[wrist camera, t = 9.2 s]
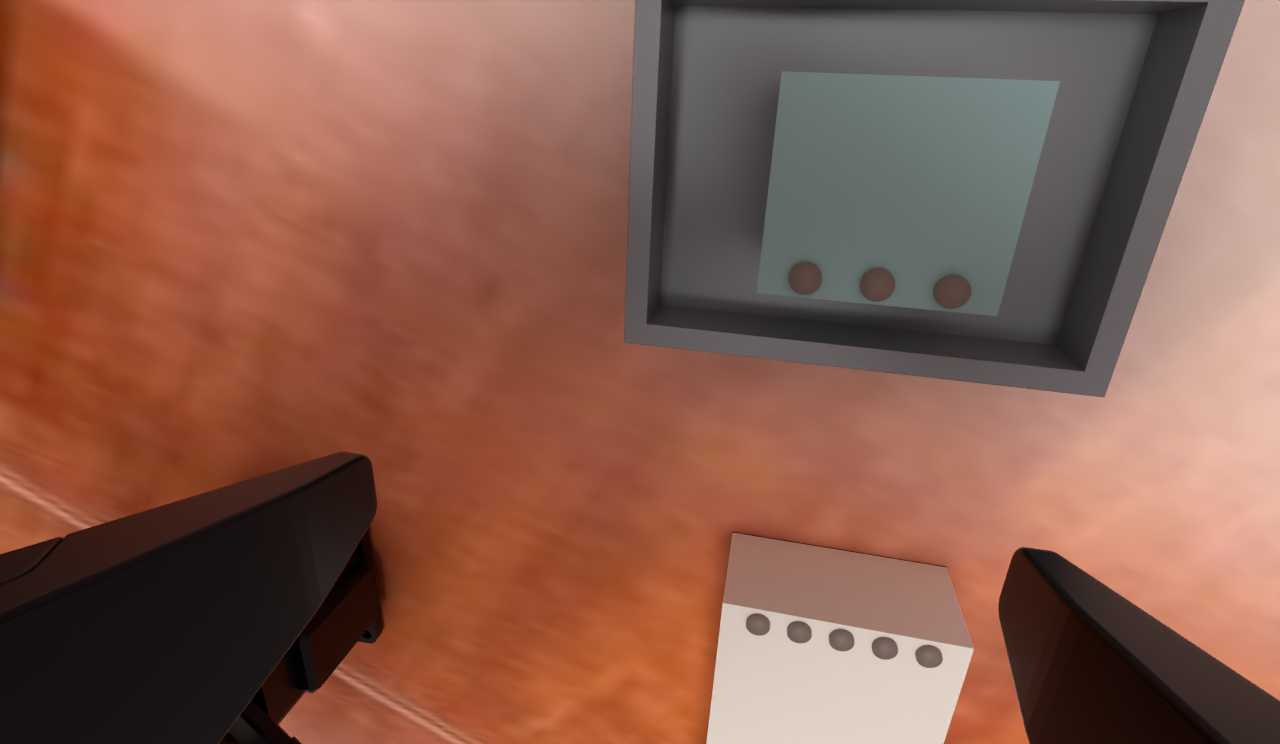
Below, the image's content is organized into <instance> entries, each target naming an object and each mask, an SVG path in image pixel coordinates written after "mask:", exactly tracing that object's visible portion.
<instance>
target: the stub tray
mask: <svg viewBox="0 0 1280 744" xmlns="http://www.w3.org/2000/svg"><path fill="white" fill-rule="evenodd" d="M1244 1H1245V0H635V29H634V59H633V89H632V119H631V149H630V179H629V209H628V240H627V270H626V300H625V330H624V342H625V343H633V344H642V345H651V346H660V347H668V348H677V349H686V350H695V351H703V352H712V353H721V354H730V355H738V356H747V357H756V358H765V359H773V360H782V361H791V362H800V363H808V364H817V365H826V366H835V367H843V368H852V369H861V370H870V371H878V372H887V373H896V374H905V375H913V376H922V377H931V378H940V379H948V380H957V381H966V382H975V383H983V384H992V385H1001V386H1009V387H1018V388H1027V389H1036V390H1044V391H1053V392H1062V393H1071V394H1079V395H1088V396H1097V397H1104V396H1105V394H1106V391H1107V388H1108V385H1109V382H1110V379H1111V377H1112V374H1113V371H1114V368H1115V365H1116V363H1117V360H1118V357H1119V354H1120V351H1121V348H1122V346H1123V343H1124V340H1125V337H1126V334H1127V331H1128V329H1129V326H1130V323H1131V320H1132V317H1133V315H1134V312H1135V309H1136V306H1137V303H1138V300H1139V298H1140V295H1141V292H1142V289H1143V286H1144V283H1145V281H1146V278H1147V275H1148V272H1149V269H1150V267H1151V264H1152V261H1153V258H1154V255H1155V252H1156V250H1157V247H1158V244H1159V241H1160V238H1161V236H1162V233H1163V230H1164V227H1165V224H1166V221H1167V219H1168V216H1169V213H1170V210H1171V207H1172V204H1173V202H1174V199H1175V196H1176V193H1177V190H1178V188H1179V185H1180V182H1181V179H1182V176H1183V173H1184V171H1185V168H1186V165H1187V162H1188V159H1189V156H1190V154H1191V151H1192V148H1193V145H1194V142H1195V140H1196V137H1197V134H1198V131H1199V128H1200V125H1201V123H1202V120H1203V117H1204V114H1205V111H1206V108H1207V106H1208V103H1209V100H1210V97H1211V94H1212V92H1213V89H1214V86H1215V83H1216V80H1217V77H1218V75H1219V72H1220V69H1221V66H1222V63H1223V60H1224V58H1225V55H1226V52H1227V49H1228V46H1229V44H1230V41H1231V38H1232V35H1233V32H1234V29H1235V27H1236V24H1237V21H1238V18H1239V15H1240V12H1241V10H1242V7H1243V4H1244ZM782 71H787V72H815V73H844V74H872V75H900V76H929V77H957V78H986V79H1014V80H1043V81H1060V84H1059V88H1058V91H1057V95H1056V99H1055V103H1054V106H1053V110H1052V114H1051V118H1050V121H1049V125H1048V129H1047V133H1046V136H1045V140H1044V144H1043V147H1042V151H1041V155H1040V159H1039V162H1038V166H1037V170H1036V174H1035V177H1034V181H1033V185H1032V189H1031V192H1030V196H1029V200H1028V204H1027V207H1026V211H1025V215H1024V218H1023V222H1022V226H1021V230H1020V233H1019V237H1018V241H1017V245H1016V248H1015V252H1014V256H1013V260H1012V263H1011V267H1010V271H1009V274H1008V278H1007V282H1006V286H1005V289H1004V293H1003V297H1002V301H1001V304H1000V308H999V312H998V316H989V315H979V314H969V313H958V312H948V311H937V310H927V309H916V308H906V307H896V306H885V305H875V304H864V303H854V302H844V301H833V300H823V299H812V298H802V297H791V296H781V295H771V294H760V293H757V285H758V276H759V267H760V258H761V250H762V241H763V232H764V223H765V214H766V206H767V197H768V188H769V179H770V170H771V162H772V153H773V144H774V135H775V127H776V118H777V109H778V100H779V91H780V83H781V74H782Z"/></svg>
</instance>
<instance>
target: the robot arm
mask: <svg viewBox="0 0 1280 744" xmlns="http://www.w3.org/2000/svg"><path fill="white" fill-rule="evenodd" d="M376 509H377V498H376V491H375V483H374V476H373V468H372V463H371V461H370V459H369V458H368V457H367V456H366V455H362V454H355V453H348V452H339V453H335V454H332V455H328V456H325V457H322V458H319V459H315V460H312V461H309V462H305V463H302V464H299V465H295V466H292V467H289V468H285V469H282V470H279V471H276V472H272V473H269V474H266V475H262V476H259V477H256V478H252V479H249V480H246V481H243V482H239V483H236V484H233V485H229V486H226V487H223V488H219V489H216V490H213V491H209V492H206V493H203V494H200V495H196V496H193V497H190V498H186V499H183V500H180V501H176V502H173V503H170V504H167V505H163V506H160V507H157V508H153V509H150V510H147V511H143V512H140V513H137V514H134V515H130V516H127V517H124V518H120V519H117V520H114V521H110V522H107V523H104V524H100V525H97V526H94V527H91V528H87V529H84V530H81V531H77V532H74V533H71V534H68V535H66V536H65V537H64V538H62V537H57V538H54V539H51V540H47V541H44V542H41V543H37V544H34V545H31V546H27V547H24V548H21V549H17V550H14V551H10V552H7V553H4V554H0V744H301V743H300V742H299V741H298V740H297V739H296V738H295V737H292V738H291V737H290V736H289V735H288V734H287V733H286V732H285V731H284V730H283V729H282V728H281V727H280V726H279V725H278V724H279V723H280V722H281V721H282V720H283V718H284V717H285V716H286V715H287V713H288V712H289V711H290V710H291V709H292V707H293V706H294V705H295V704H296V703H297V701H298V700H299V699H300V698H301V697H302V695H303V694H304V693H305V692H309V693H314V692H315V691H316V690H318V689H319V688H320V687H321V686H322V685H323V684H324V682H325V681H326V680H327V679H328V677H329V676H330V675H331V674H332V672H333V671H334V670H335V669H336V667H337V666H338V665H339V664H340V662H341V661H342V660H343V659H344V658H345V656H346V655H347V654H348V653H349V651H350V650H351V649H352V648H353V646H354V645H355V644H356V643H357V641H360V642H365V643H374V642H375V641H376V640H377V638H378V637H379V636H380V635H381V633H382V625H381V619H380V611H379V604H378V598H377V591H376V584H375V578H374V571H373V565H372V559H371V552H370V545H369V539H368V532H367V529H368V527H369V525H370V524H371V522H372V520H373V518H374V516H375V513H376ZM999 618H1000V623H1001V627H1002V632H1003V636H1004V641H1005V645H1006V649H1007V654H1008V658H1009V663H1010V667H1011V671H1012V676H1013V680H1014V685H1015V689H1016V693H1017V698H1018V702H1019V707H1020V711H1021V715H1022V719H1023V723H1024V727H1025V731H1026V734H1027V737H1028V740H1029V743H1030V744H1280V701H1279V700H1278V699H1276V698H1275V697H1273V696H1272V695H1270V694H1269V693H1267V692H1266V691H1264V690H1263V689H1261V688H1260V687H1258V686H1257V685H1255V684H1254V683H1252V682H1250V681H1249V680H1247V679H1246V678H1244V677H1243V676H1241V675H1240V674H1238V673H1237V672H1235V671H1234V670H1232V669H1231V668H1229V667H1228V666H1226V665H1225V664H1223V663H1222V662H1220V661H1219V660H1217V659H1216V658H1214V657H1213V656H1211V655H1210V654H1208V653H1207V652H1205V651H1204V650H1202V649H1201V648H1199V647H1198V646H1196V645H1195V644H1193V643H1192V642H1190V641H1189V640H1187V639H1186V638H1184V637H1183V636H1181V635H1180V634H1178V633H1177V632H1175V631H1174V630H1172V629H1171V628H1169V627H1168V626H1166V625H1165V624H1163V623H1161V622H1160V621H1158V620H1157V619H1155V618H1154V617H1152V616H1151V615H1149V614H1148V613H1146V612H1145V611H1143V610H1142V609H1140V608H1139V607H1137V606H1136V605H1134V604H1133V603H1131V602H1130V601H1128V600H1127V599H1125V598H1124V597H1122V596H1121V595H1119V594H1118V593H1116V592H1115V591H1113V590H1112V589H1110V588H1109V587H1107V586H1106V585H1104V584H1103V583H1101V582H1100V581H1098V580H1097V579H1095V578H1094V577H1092V576H1091V575H1089V574H1088V573H1086V572H1085V571H1083V570H1082V569H1080V568H1079V567H1077V566H1076V565H1074V564H1073V563H1071V562H1069V561H1068V560H1066V559H1065V558H1063V557H1062V556H1060V555H1059V554H1057V553H1056V552H1053V551H1048V550H1041V549H1034V548H1026V547H1021V548H1019V549H1018V550H1016V552H1015V553H1014V555H1013V557H1012V559H1011V563H1010V566H1009V569H1008V572H1007V575H1006V579H1005V582H1004V585H1003V588H1002V592H1001V595H1000V599H999Z"/></svg>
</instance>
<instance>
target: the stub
mask: <svg viewBox="0 0 1280 744" xmlns="http://www.w3.org/2000/svg"><path fill="white" fill-rule="evenodd" d="M1059 84H1060V81H1043V80H1014V79H986V78H957V77H929V76H900V75H872V74H844V73H815V72H787V71H782V74H781V83H780V91H779V100H778V109H777V118H776V127H775V135H774V144H773V153H772V162H771V170H770V179H769V188H768V197H767V206H766V214H765V223H764V232H763V241H762V250H761V258H760V267H759V276H758V285H757V293H760V294H771V295H781V296H791V297H802V298H812V299H823V300H833V301H844V302H854V303H864V304H875V305H885V306H896V307H906V308H916V309H927V310H937V311H948V312H958V313H969V314H979V315H989V316H998V312H999V308H1000V304H1001V301H1002V297H1003V293H1004V289H1005V286H1006V282H1007V278H1008V274H1009V271H1010V267H1011V263H1012V260H1013V256H1014V252H1015V248H1016V245H1017V241H1018V237H1019V233H1020V230H1021V226H1022V222H1023V218H1024V215H1025V211H1026V207H1027V204H1028V200H1029V196H1030V192H1031V189H1032V185H1033V181H1034V177H1035V174H1036V170H1037V166H1038V162H1039V159H1040V155H1041V151H1042V147H1043V144H1044V140H1045V136H1046V133H1047V129H1048V125H1049V121H1050V118H1051V114H1052V110H1053V106H1054V103H1055V99H1056V95H1057V91H1058V88H1059Z"/></svg>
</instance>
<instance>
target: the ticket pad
mask: <svg viewBox="0 0 1280 744" xmlns="http://www.w3.org/2000/svg"><path fill="white" fill-rule="evenodd" d="M973 650H974V647H973V644H972V641H971V638H970V635H969V632H968V629H967V626H966V623H965V620H964V617H963V614H962V611H961V608H960V605H959V602H958V599H957V596H956V593H955V590H954V587H953V584H952V581H951V578H950V575H949V572H948V569H947V567H941V566H935V565H928V564H922V563H916V562H910V561H904V560H898V559H892V558H886V557H879V556H873V555H867V554H861V553H855V552H849V551H843V550H836V549H830V548H824V547H818V546H812V545H806V544H800V543H794V542H787V541H781V540H775V539H769V538H763V537H757V536H751V535H745V534H738V533H732V539H731V547H730V554H729V561H728V568H727V576H726V583H725V590H724V597H723V605H722V614H721V622H720V631H719V639H718V648H717V657H716V665H715V674H714V682H713V691H712V700H711V708H710V717H709V726H708V734H707V743H706V744H944V741H945V737H946V734H947V731H948V728H949V725H950V722H951V719H952V716H953V713H954V709H955V706H956V703H957V700H958V697H959V694H960V691H961V688H962V685H963V681H964V678H965V675H966V672H967V669H968V666H969V663H970V660H971V657H972V653H973Z"/></svg>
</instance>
